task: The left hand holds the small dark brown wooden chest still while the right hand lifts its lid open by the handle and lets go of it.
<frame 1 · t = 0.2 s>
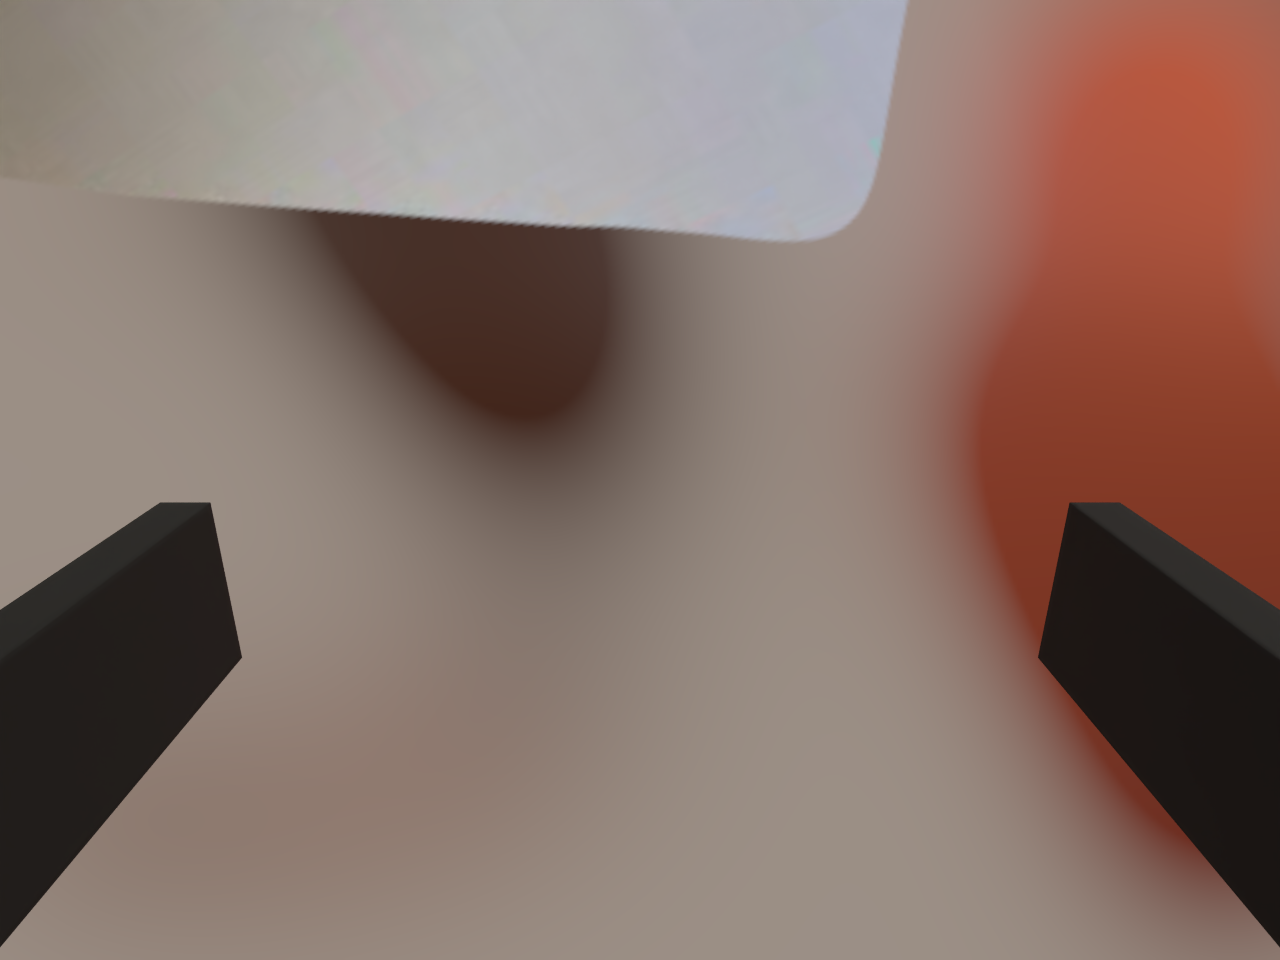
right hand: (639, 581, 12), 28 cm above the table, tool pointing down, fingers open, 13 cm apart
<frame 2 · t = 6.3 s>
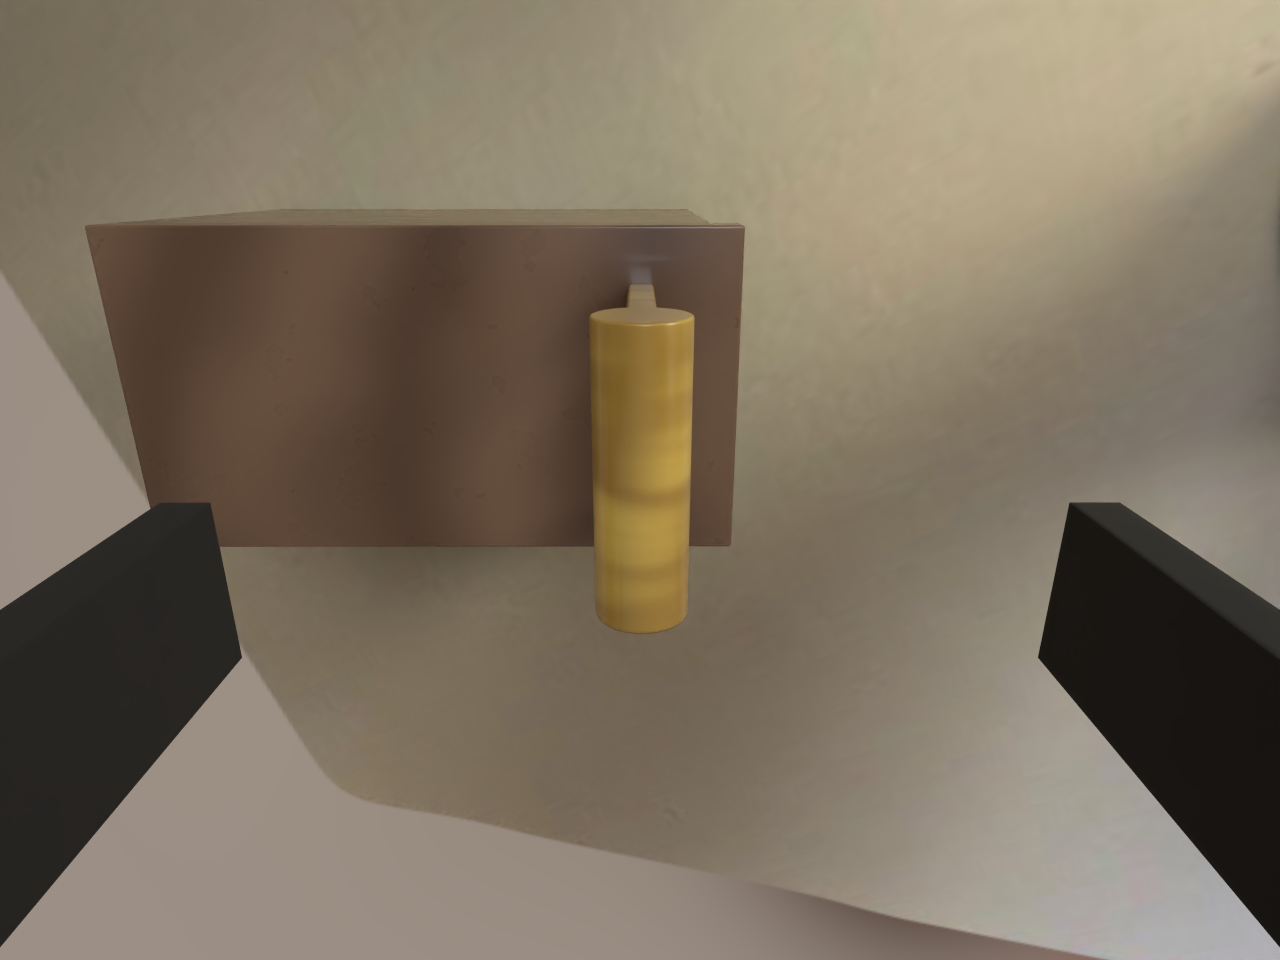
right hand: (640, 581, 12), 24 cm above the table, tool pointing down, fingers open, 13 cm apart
lid: (401, 428, 20), point 16 cm above the table, hinge at 0.0°
chest: (491, 324, 35), on the table
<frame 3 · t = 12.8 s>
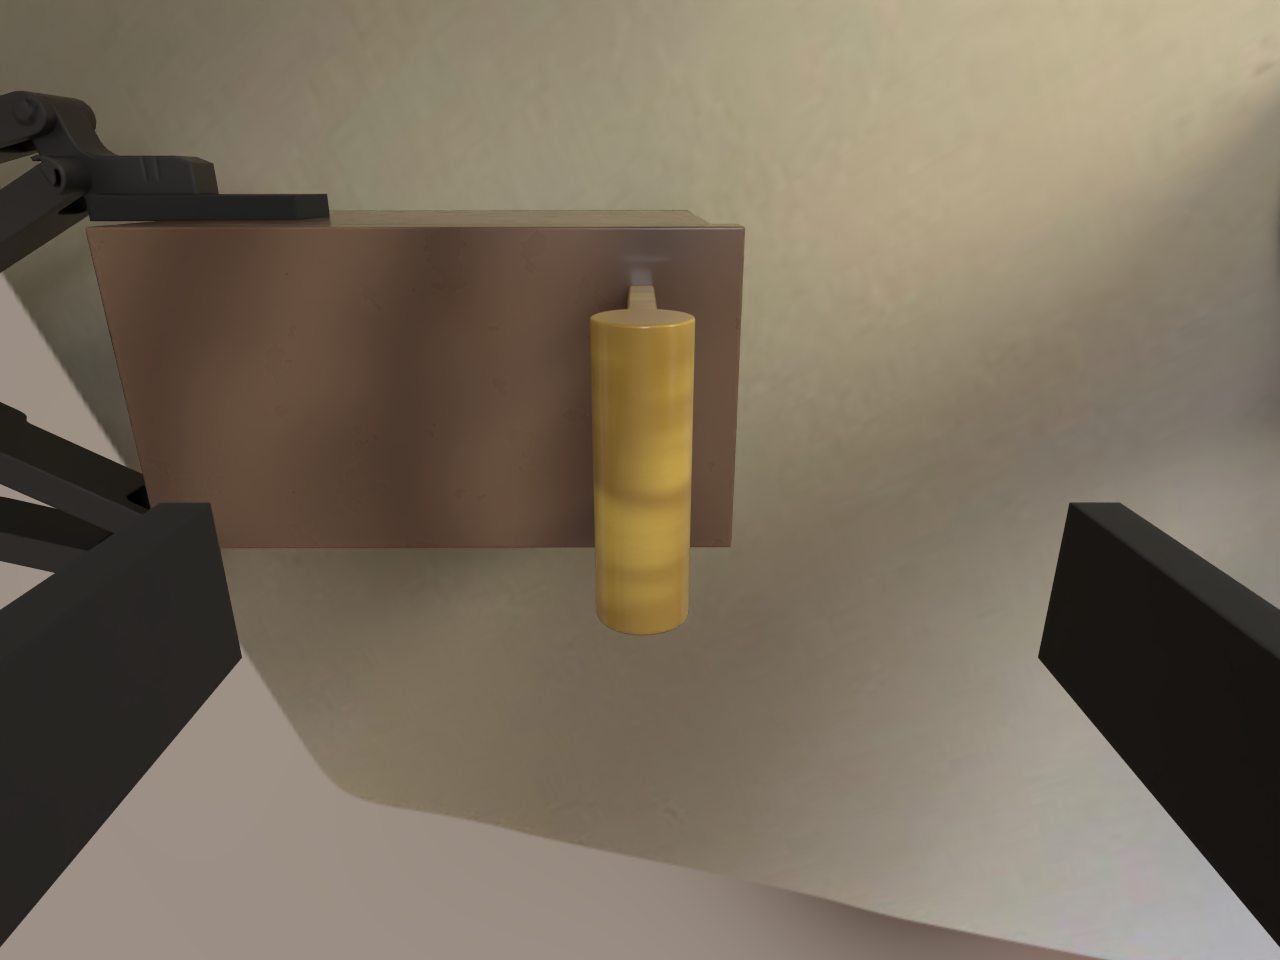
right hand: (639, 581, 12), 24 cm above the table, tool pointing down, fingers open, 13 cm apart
lid: (401, 430, 20), point 16 cm above the table, hinge at 0.0°
chest: (492, 325, 35), on the table, touching left hand
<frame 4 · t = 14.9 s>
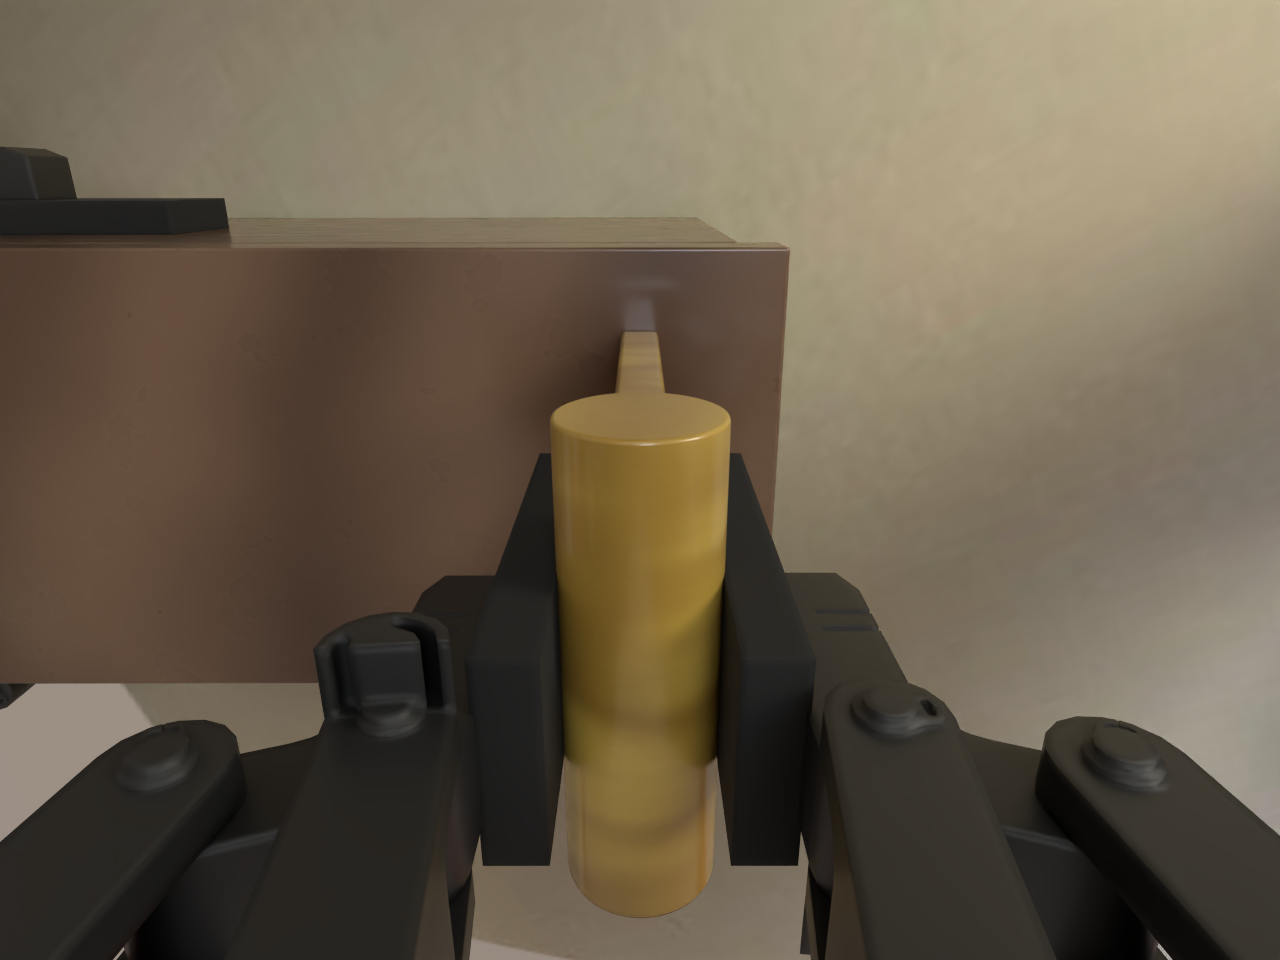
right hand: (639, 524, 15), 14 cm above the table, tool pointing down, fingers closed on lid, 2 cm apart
lid: (282, 553, 13), point 16 cm above the table, hinge at 0.2°, touching right hand
chest: (454, 359, 28), on the table, touching left hand
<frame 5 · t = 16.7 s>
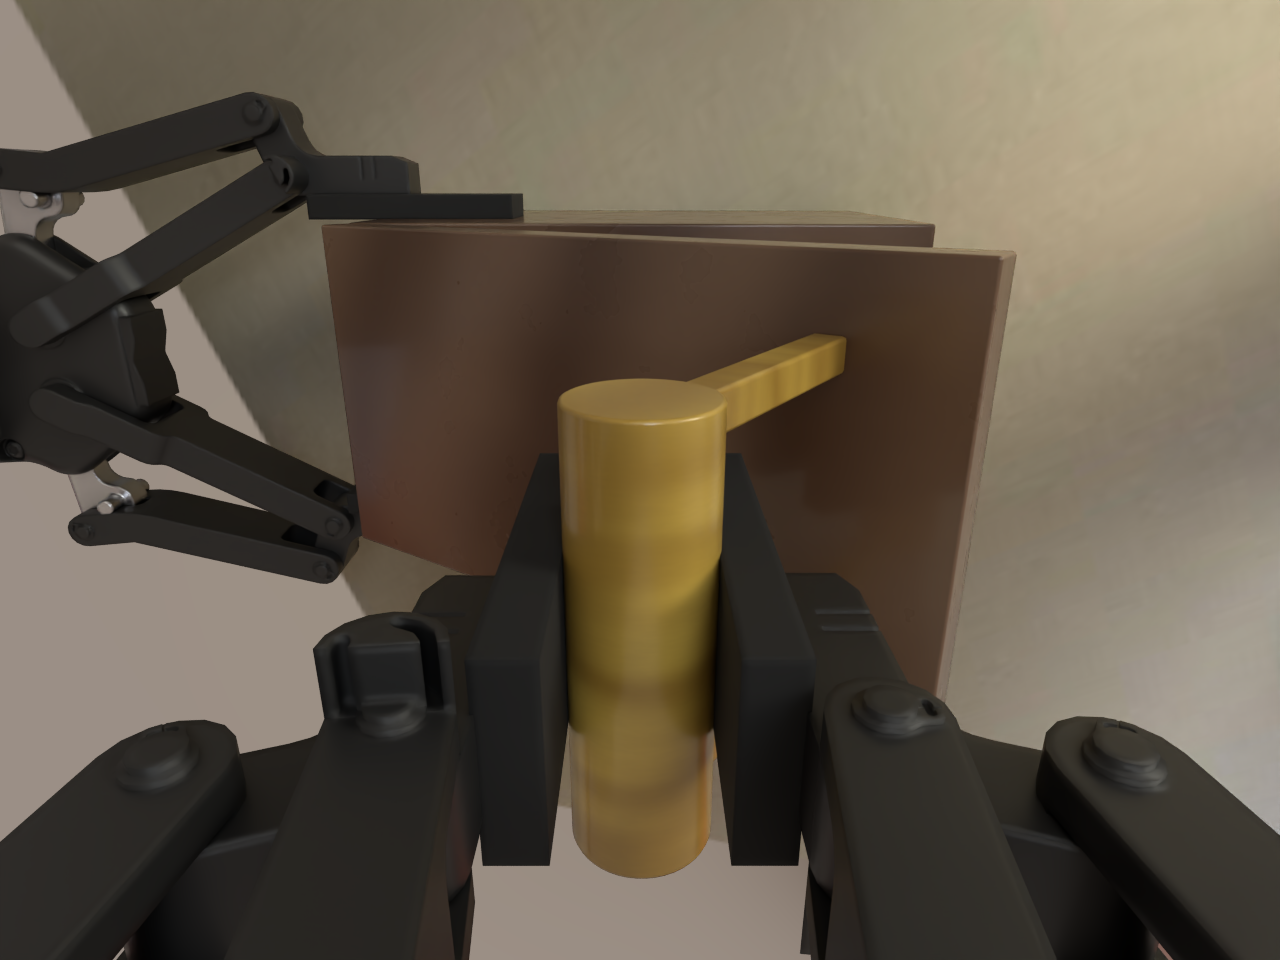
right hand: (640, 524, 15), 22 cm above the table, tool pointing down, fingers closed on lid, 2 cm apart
left hand: (525, 356, 28), fingers closed on chest, 9 cm apart
lid: (486, 480, 17), point 20 cm above the table, hinge at 32.1°, touching right hand
chest: (646, 324, 35), on the table, touching left hand
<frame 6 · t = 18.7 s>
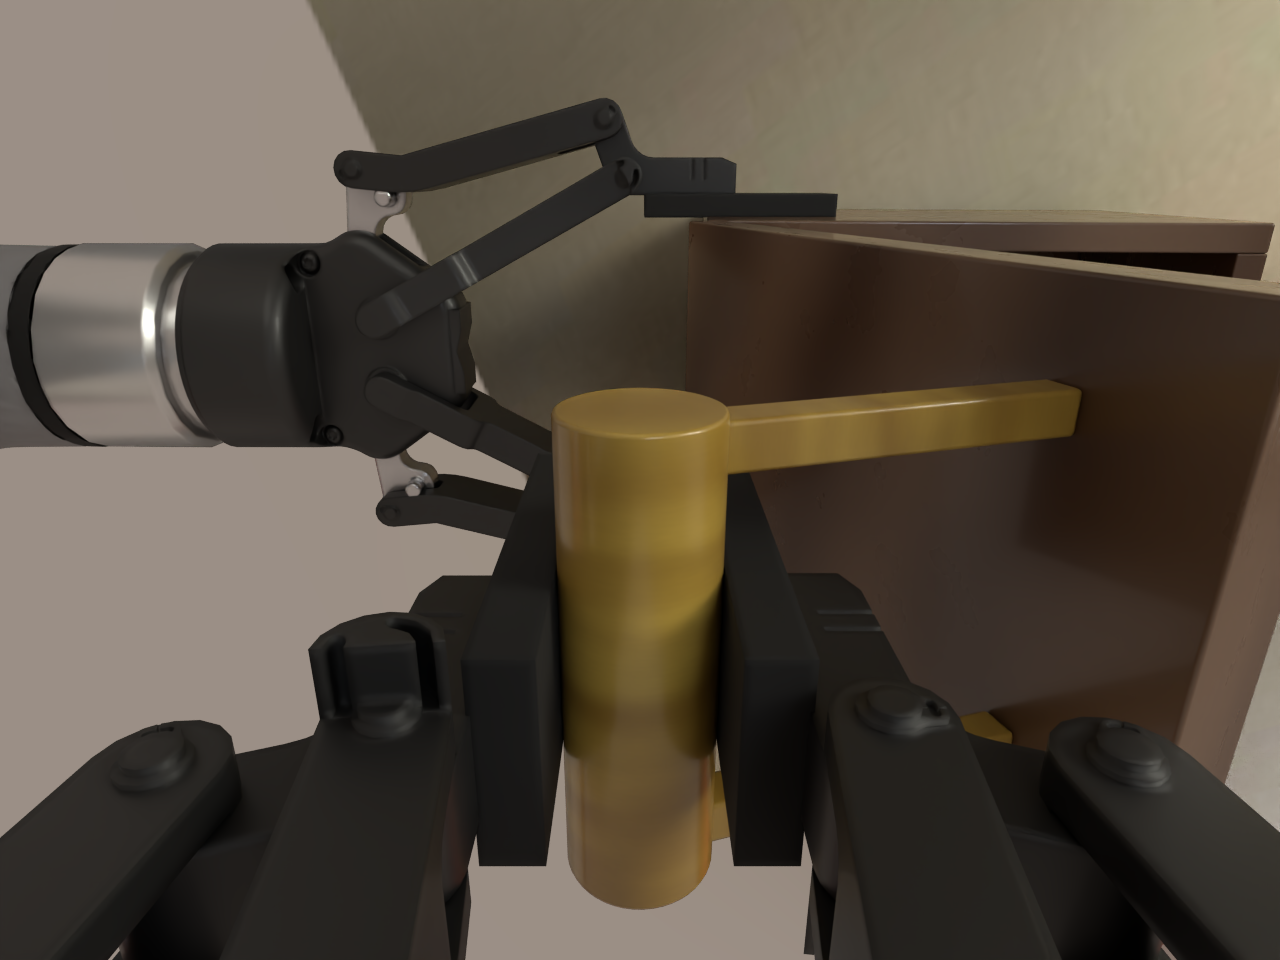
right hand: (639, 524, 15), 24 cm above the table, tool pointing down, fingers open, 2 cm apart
left hand: (816, 347, 30), fingers closed on chest, 9 cm apart
lid: (697, 477, 17), point 21 cm above the table, hinge at 68.5°
chest: (886, 319, 36), point 1 cm above the table, touching left hand
when the left hand's fingers open (7 cm above the table, at t = 22.5 s): chest stays where it is, on the table.
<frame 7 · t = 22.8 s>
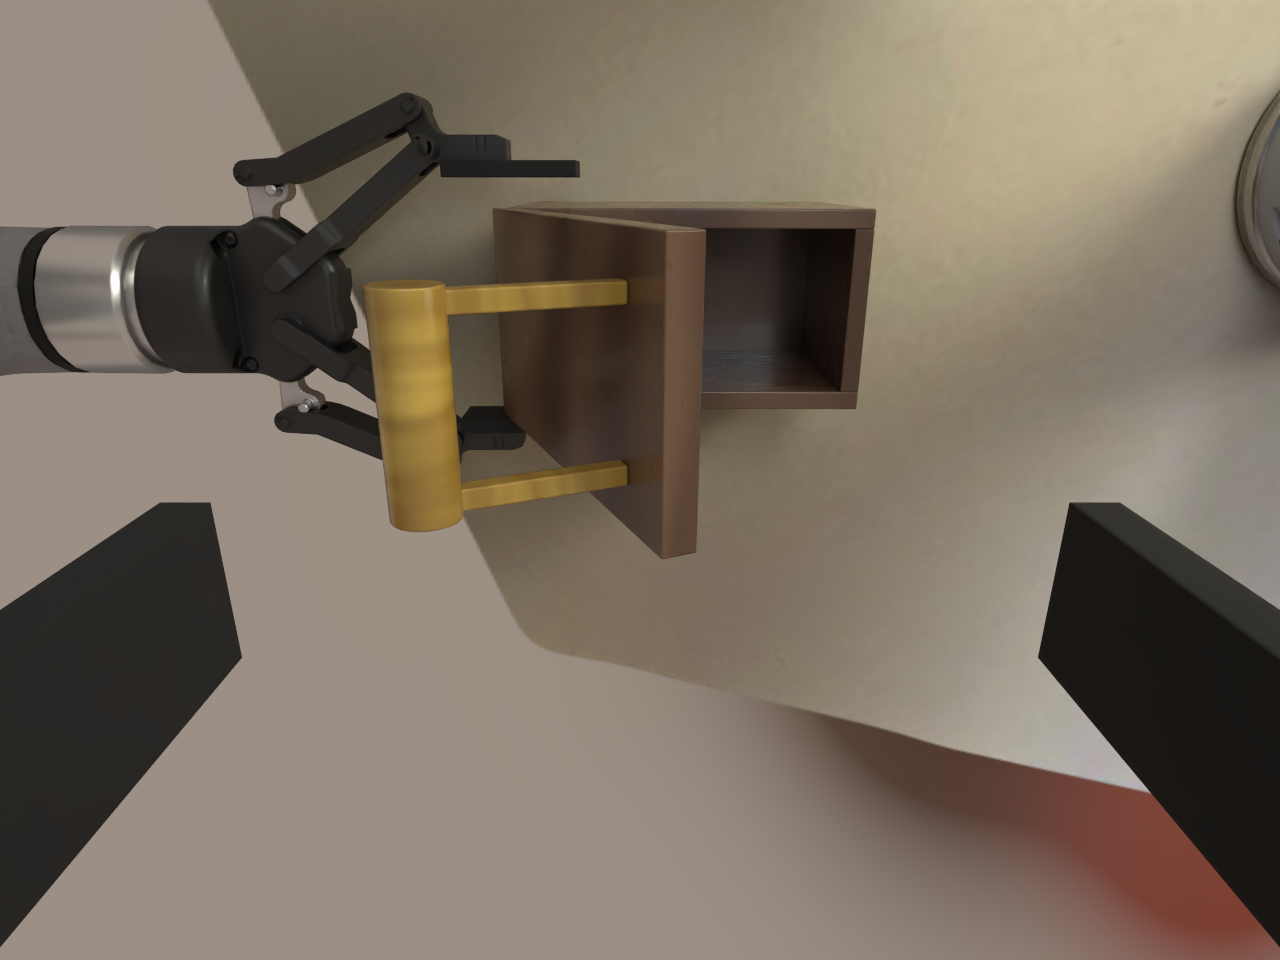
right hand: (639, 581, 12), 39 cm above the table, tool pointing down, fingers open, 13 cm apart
left hand: (581, 300, 42), fingers open, 12 cm apart
lid: (478, 356, 29), point 21 cm above the table, hinge at 65.6°
chest: (679, 284, 49), on the table
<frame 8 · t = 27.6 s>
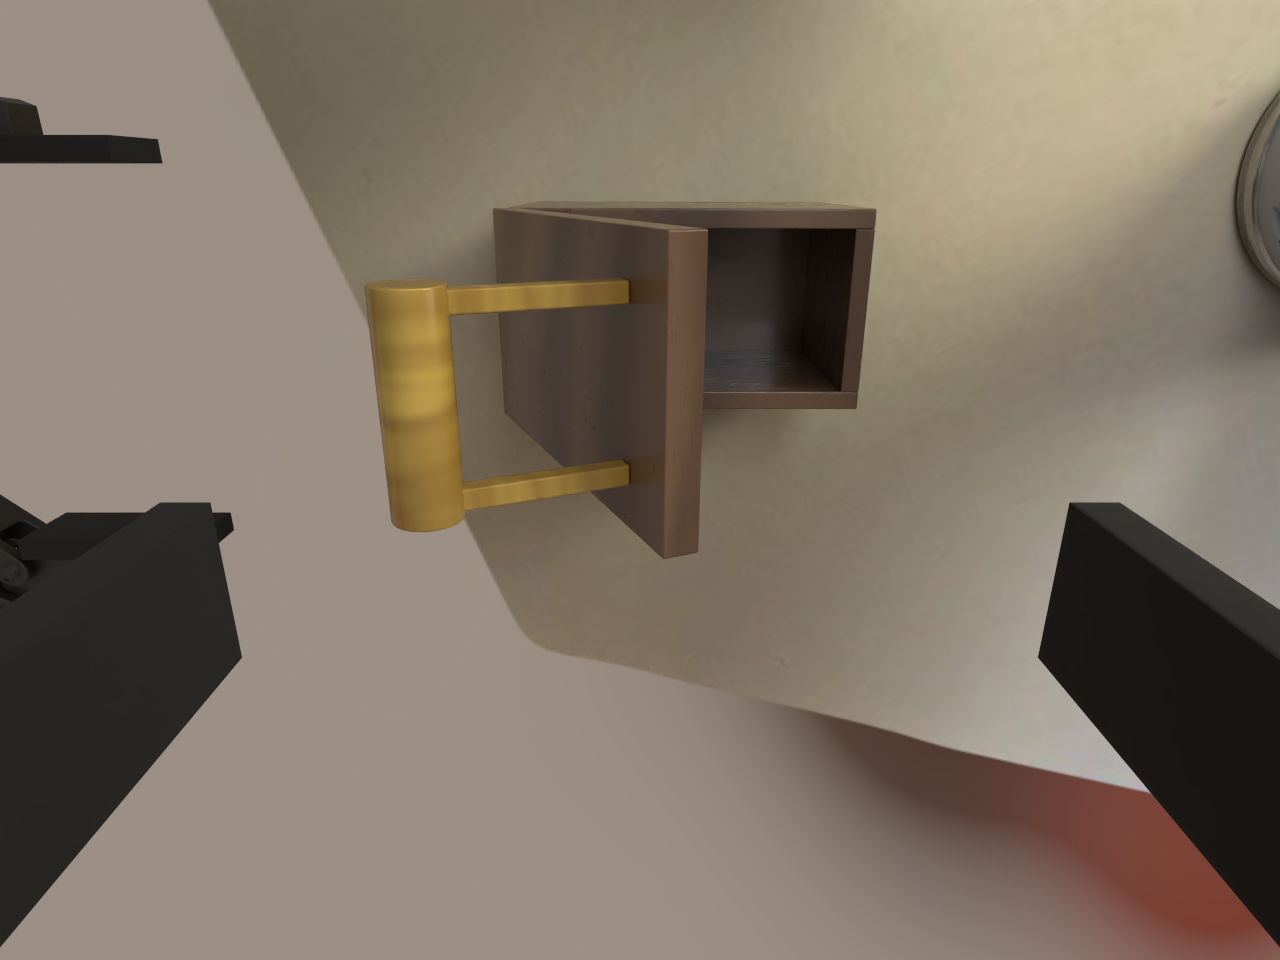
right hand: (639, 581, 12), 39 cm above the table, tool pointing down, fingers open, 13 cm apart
lid: (479, 356, 29), point 21 cm above the table, hinge at 65.6°
chest: (679, 284, 49), on the table
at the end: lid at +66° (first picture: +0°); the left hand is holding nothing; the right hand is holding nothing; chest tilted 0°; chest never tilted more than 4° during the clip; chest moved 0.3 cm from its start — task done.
